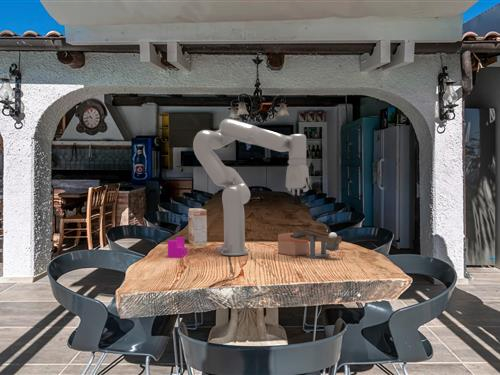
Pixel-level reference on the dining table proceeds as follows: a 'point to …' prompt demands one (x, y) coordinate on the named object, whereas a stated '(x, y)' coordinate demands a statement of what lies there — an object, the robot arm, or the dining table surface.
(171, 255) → the toy block
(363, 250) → the dining table surface
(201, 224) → the coffeecake box
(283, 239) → the cup
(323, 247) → the stand
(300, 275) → the dining table surface
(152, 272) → the dining table surface
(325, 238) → the lever
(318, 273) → the dining table surface
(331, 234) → the ball
